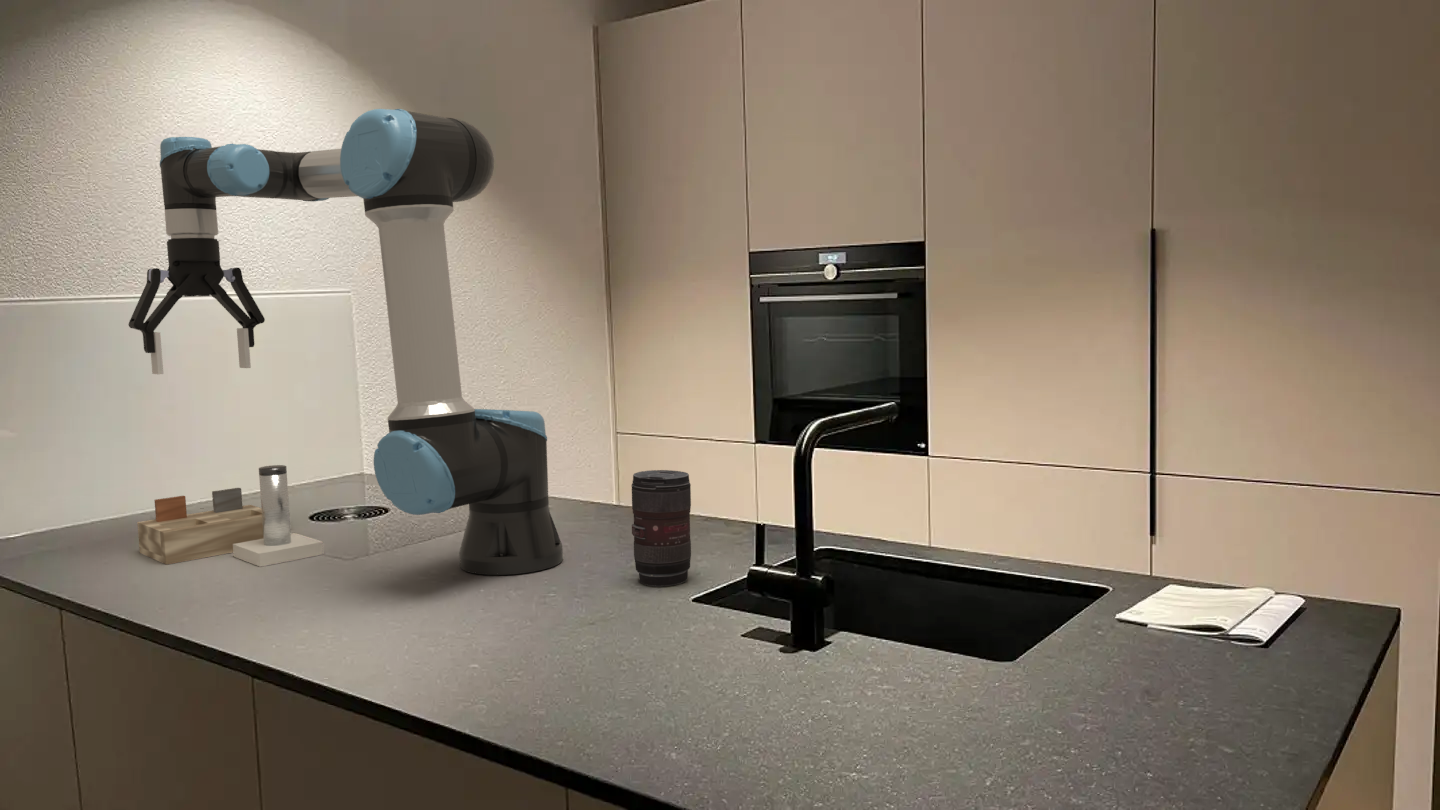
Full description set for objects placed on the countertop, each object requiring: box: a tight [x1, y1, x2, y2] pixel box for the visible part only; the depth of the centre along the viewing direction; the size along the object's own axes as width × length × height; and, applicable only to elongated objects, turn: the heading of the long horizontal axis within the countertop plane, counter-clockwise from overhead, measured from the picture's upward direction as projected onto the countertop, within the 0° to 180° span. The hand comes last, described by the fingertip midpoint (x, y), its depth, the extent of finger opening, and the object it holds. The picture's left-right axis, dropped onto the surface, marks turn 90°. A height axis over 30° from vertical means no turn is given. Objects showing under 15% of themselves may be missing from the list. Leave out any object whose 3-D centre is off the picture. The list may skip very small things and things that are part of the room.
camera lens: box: [631, 469, 692, 587], centre depth 154 cm, size 8×8×15 cm
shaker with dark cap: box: [258, 464, 292, 546], centre depth 175 cm, size 4×4×12 cm
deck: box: [233, 532, 325, 568], centre depth 176 cm, size 10×10×2 cm
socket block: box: [136, 487, 264, 565], centre depth 182 cm, size 12×18×8 cm, turn 135°
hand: (202, 371), depth 180 cm, fingers open, 13 cm apart
